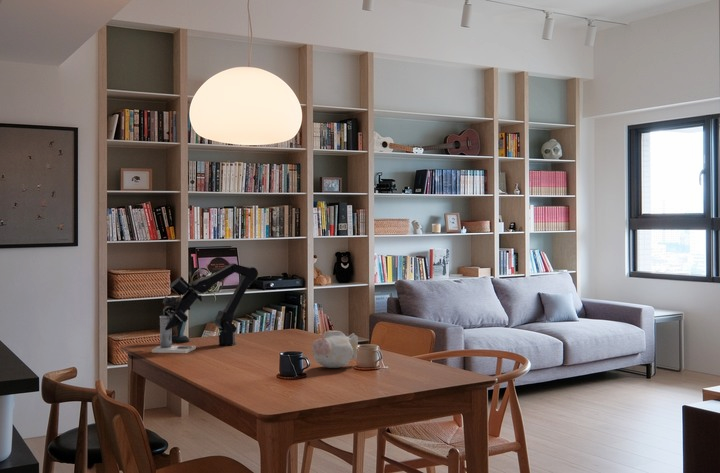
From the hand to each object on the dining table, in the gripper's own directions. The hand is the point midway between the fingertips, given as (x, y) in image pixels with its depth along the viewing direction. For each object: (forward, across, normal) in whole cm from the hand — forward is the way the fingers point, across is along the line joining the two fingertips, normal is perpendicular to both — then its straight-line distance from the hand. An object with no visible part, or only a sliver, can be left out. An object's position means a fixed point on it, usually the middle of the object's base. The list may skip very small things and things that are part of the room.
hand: (162, 328), depth 348 cm
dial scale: (+4, +2, +10) cm, 11 cm away
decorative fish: (-24, +79, +39) cm, 91 cm away
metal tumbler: (+5, 0, +7) cm, 9 cm away
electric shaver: (-2, -22, +17) cm, 28 cm away
